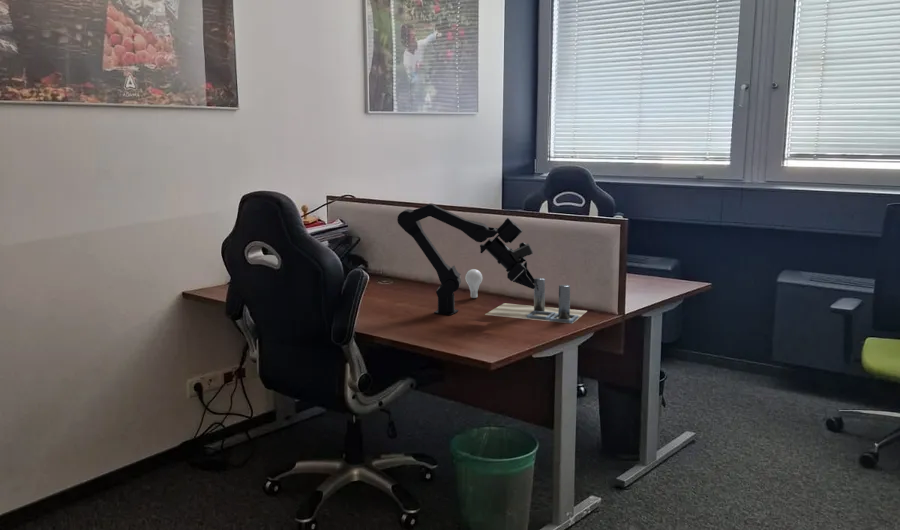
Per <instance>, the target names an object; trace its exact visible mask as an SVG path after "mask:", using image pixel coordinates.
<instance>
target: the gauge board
mask: <svg viewBox="0 0 900 530" xmlns="http://www.w3.org/2000/svg"><path fill="white" fill-rule="evenodd" d="M558 311H559V307H550V306H545V311H535V310H534V305H529V304H528V305H526V304H515V303H504V302H503V303H502V304H500V305H499V306H497V307H495V308H493V309H492V310H490V311H488V312H487V313H485V314H484V315H485V316H493V317H494V316H495V317H504V318H513V319H523V320H533V321H544V322H555V323H563V324H564V323H565V324H574V323H576V322H577V321H578V320H579V319H580V318H581V317H583V315H585V314H586V313H587V312H588V310H584V309H583V310H582V309H571V308H570V320H569V319H558Z"/></svg>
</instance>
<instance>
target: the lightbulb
mask: <svg viewBox="0 0 900 530" xmlns="http://www.w3.org/2000/svg"><path fill="white" fill-rule="evenodd" d="M464 280H465V282H466V283H467V285H468V289H469V292H470V295H469V296H470V298H471V299H476V298H479V297H478V291H479V288H480V285H481V284H482V282H483V274H482V272H481V271H480V270H478V269H475V268H472V269H469V270H468V271H467V272H466V274H465V279H464Z"/></svg>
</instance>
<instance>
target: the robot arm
mask: <svg viewBox="0 0 900 530" xmlns="http://www.w3.org/2000/svg"><path fill="white" fill-rule="evenodd" d="M428 217H432V219H433V218H434V219H435V220H436V221H437V220H438V221H439V222H442V223H443V224H446V225H448V226H451V227H453V228H455V229H458V231H461V232H462V233H463V234H465V235H466V236H467V237H469V238H470V239H472V240H474V241H475V242H476V243H480V245H479V248H480V252H479V253H480V254H483V253H484V252H486V251H487V252H488V253H489V254H490V256H491V257H492V258H494V259H495V260H496V262H497V264H498V265H501V266H502V267H503V268H504V269H505V272H507V275H506V276H507V279H508V280H509V281H510V282H513V283H515V284H519V285H521V286H524V287H527V288H529V289H531V290H534V288H535V285H534V278H535V277H533V275H532V273H531V272H530V270H529V269H528V260H527V258H526V257H527V256H530V255H533V253H534V251H533V249H532V247H531V244H530V243H525V242H520V243H519V247H517V248H516V249H513V248H511V247H508V245H506V244H508V243H510V244H512V243H513V242H514V241H515V240H516V239H517V238H518V237H519V236H520V235H522V233H524V232H523V230H522V228H521V227H520V226H519V225H518V224H517V223H516V222H514V221H513V220H511V218H510V217H507V218H506V219H504V221H503V223H501V224H500V225H499V227H491V226H488V225H487V224H486V223H482V222H478V221H475V220H470V219H466V218H463V217H461V216H459V215H457V214H455V213H452V212H450V211H449V210H446V209H444V208H441V206H438V205H436V204H434V203H432V202H431V203H428V204H427V205H423V206H420V207H419V208H415V209H409V208H408V209H404V210H403V211H401V212H400V213H399V214H398V216H397V219H396V220H397V224H398V225H399V226H400V228H402V229H403V230H404V232H406V233H407V234H409V236H410V237H411V238H412V239H413V240H414V241H415V243H416V244H417V245H418V247H419V248H420V249H421V251H422V252H423V254H424V255H425V257H426V258H427V260H428V261H429V263H430V264H431V265H432V267H433V269H434V270H435V271H436V273H437V277H438V279H439V282H440V285H439V286H438V288H437V289H436V291H435V293H436V296H437V310H435V311H433V313H434V314H438V315H446V316H452V315H454V314H455V313H457V312H459V309H455V305H456V304H455V302H456V301H455V292H457V290H458V289H459V288H460V286H461V283H462V279H461V275H462V274H461V273H460V272H458V270H457V268H456V266H455V265H454V264H453V265H452V266H450V265H448V264H447V263H446V262H445V260H444V259H443V257H442V256H441V254H440V253H439V251H438V250H437V249H436V247H435V245H434V244H433V243H432V241H431V239H430V238H429V236H428V235H427V234H426V233H425V231H424V229H423V227H422V224H421V220H423V219H425V218H428ZM491 238H493V239H491ZM483 243H484V244H483ZM505 243H506V244H505Z"/></svg>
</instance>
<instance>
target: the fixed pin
mask: <svg viewBox="0 0 900 530" xmlns="http://www.w3.org/2000/svg"><path fill="white" fill-rule="evenodd" d="M558 308H559V311H558V319H569V320H570V309H571V285H569V284H559V285H558Z"/></svg>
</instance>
